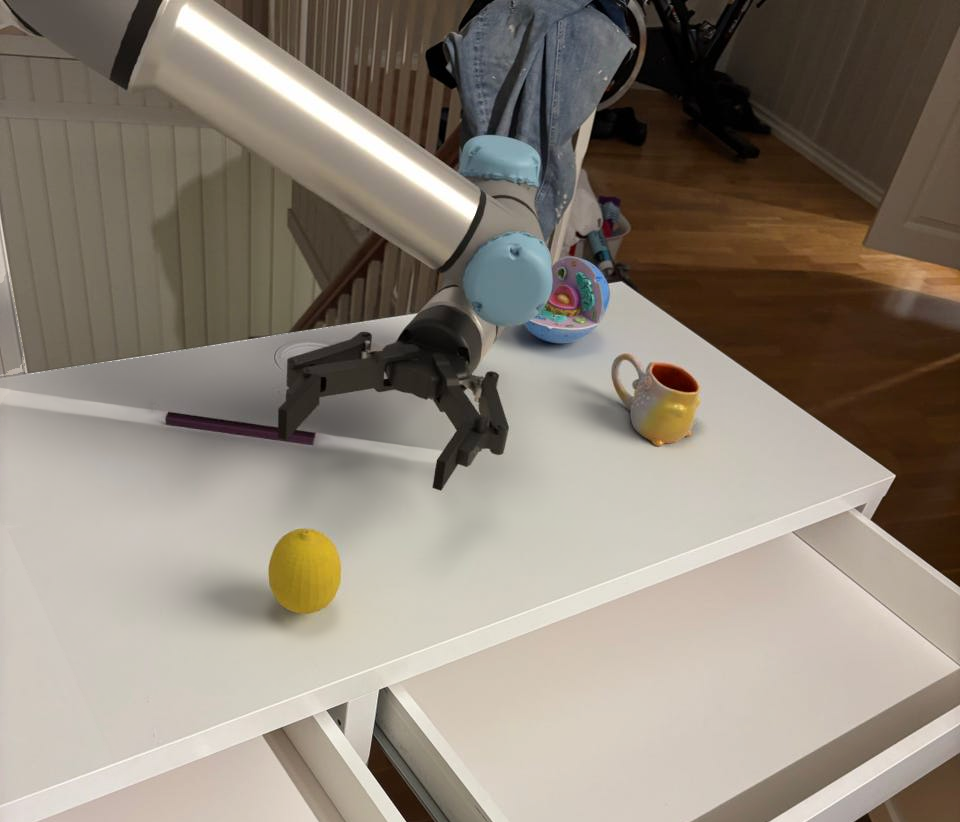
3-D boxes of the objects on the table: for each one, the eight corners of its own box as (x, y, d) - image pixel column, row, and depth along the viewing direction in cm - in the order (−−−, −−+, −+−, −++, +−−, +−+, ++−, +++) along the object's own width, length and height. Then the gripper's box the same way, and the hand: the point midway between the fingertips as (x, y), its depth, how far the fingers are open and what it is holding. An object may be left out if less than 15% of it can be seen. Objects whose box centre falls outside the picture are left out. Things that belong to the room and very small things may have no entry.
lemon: (318, 580, 81) (324, 503, 75) (349, 623, 78) (357, 545, 72) (256, 597, 78) (257, 518, 73) (285, 642, 75) (288, 563, 70)
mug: (700, 440, 108) (720, 386, 103) (656, 453, 104) (675, 398, 100) (629, 386, 114) (645, 333, 110) (586, 396, 111) (600, 342, 106)
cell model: (493, 329, 119) (508, 251, 112) (561, 311, 125) (579, 237, 119) (549, 367, 114) (567, 289, 107) (617, 347, 121) (638, 272, 114)
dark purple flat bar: (165, 424, 93) (165, 417, 92) (177, 397, 97) (176, 390, 96) (312, 445, 95) (313, 438, 94) (318, 418, 98) (319, 411, 98)
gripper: (560, 415, 95) (497, 534, 79) (324, 341, 97) (219, 442, 82) (578, 344, 90) (515, 457, 74) (328, 268, 92) (217, 362, 77)
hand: (359, 450), depth 78 cm, fingers open, 13 cm apart
